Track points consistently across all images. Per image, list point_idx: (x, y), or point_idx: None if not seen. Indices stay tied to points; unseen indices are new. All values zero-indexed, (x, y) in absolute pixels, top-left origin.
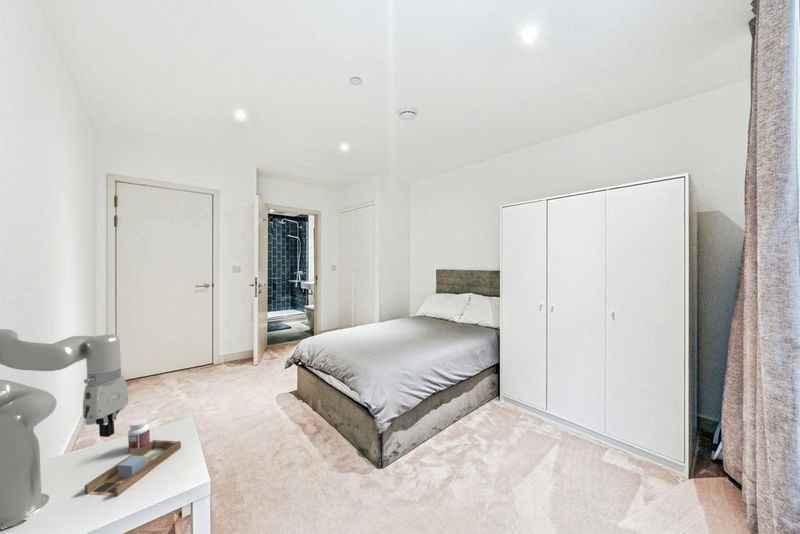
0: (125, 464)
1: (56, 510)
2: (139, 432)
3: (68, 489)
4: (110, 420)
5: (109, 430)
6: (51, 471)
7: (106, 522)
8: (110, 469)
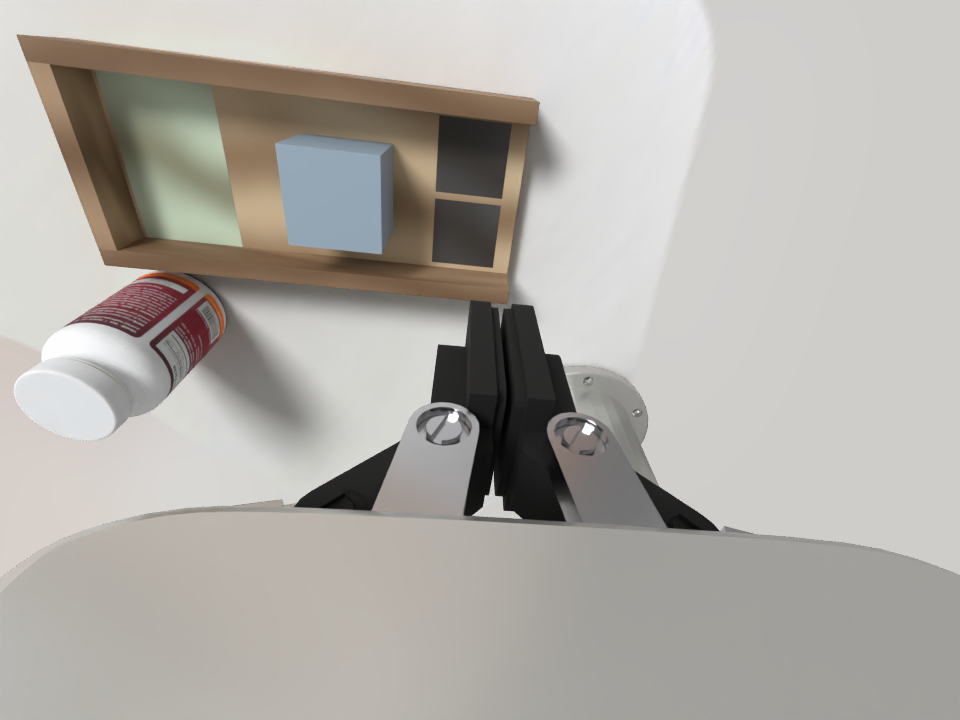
0: (371, 213)
1: (570, 321)
2: (127, 345)
3: None
4: (483, 442)
5: (536, 338)
6: None
7: (700, 3)
8: (389, 285)
